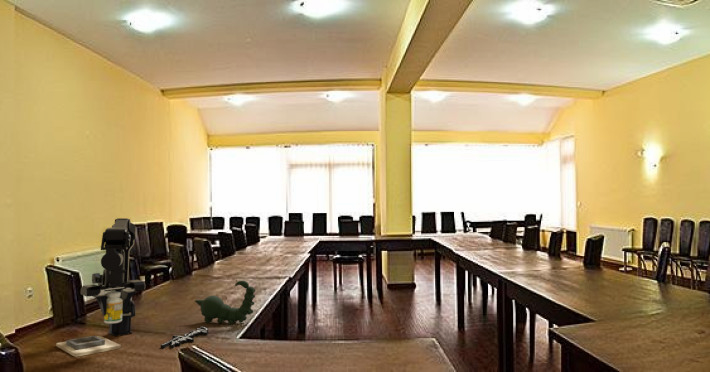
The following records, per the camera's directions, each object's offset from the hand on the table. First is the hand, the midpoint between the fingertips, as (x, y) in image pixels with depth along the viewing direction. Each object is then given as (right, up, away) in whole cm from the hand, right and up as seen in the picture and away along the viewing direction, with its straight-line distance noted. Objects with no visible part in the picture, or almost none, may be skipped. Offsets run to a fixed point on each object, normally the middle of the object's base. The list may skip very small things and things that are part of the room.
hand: (113, 314), depth 160 cm
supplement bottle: (0, -3, 0) cm, 3 cm away
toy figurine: (+25, -15, +42) cm, 51 cm away
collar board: (-10, -12, +4) cm, 16 cm away
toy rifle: (+19, -14, +16) cm, 28 cm away
